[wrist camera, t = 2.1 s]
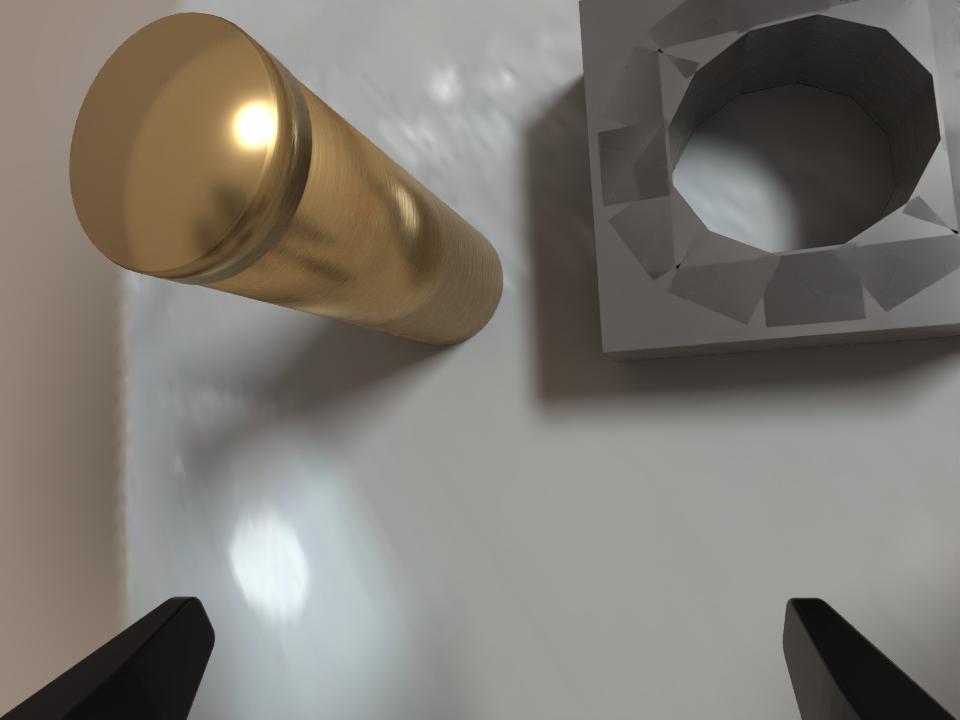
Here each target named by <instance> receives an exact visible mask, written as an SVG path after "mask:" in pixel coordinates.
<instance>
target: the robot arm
mask: <svg viewBox="0 0 960 720" xmlns="http://www.w3.org/2000/svg"><path fill="white" fill-rule="evenodd" d="M214 642H215V633H214V629H213V627H212V625H211V622H210V620H209V618H208V616H207V614H206V611H205V609H204V607H203V605H202V603H201V601H200V600H199V599H198V598H196V597H173V598H170V599H168V600H167V601H165V602H164V603H162V604H161V605H160V606H158V607H157V608H155V609H154V610H152V611H151V612H150V613H148V614H147V615H145V616H144V617H143V618H141V619H140V620H138V621H137V622H135V623H134V624H133V625H131V626H130V627H128V628H127V629H126V630H124V631H123V632H121V633H120V634H118V635H117V636H116V637H114V638H113V639H111V640H110V641H109V642H107V643H106V644H104V645H103V646H102V647H100V648H99V649H97V650H96V651H94V652H93V653H92V654H90V655H89V656H87V657H86V658H85V659H83V660H82V661H80V662H79V663H77V664H76V665H74V666H73V667H72V668H70V669H69V670H68V671H66V672H64V673H63V674H62V675H60V676H59V677H57V678H56V679H55V680H53V681H52V682H50V683H49V684H47V685H46V686H45V687H43V688H42V689H40V690H39V691H38V692H36V693H35V694H33V695H32V696H30V697H29V698H28V699H26V700H25V701H23V702H22V703H20V704H19V705H18V706H16V707H15V708H14V709H12V710H11V711H9V712H8V713H6V714H5V715H3V716H2V717H1V718H0V720H187V717H188V714H189V712H190V709H191V706H192V704H193V701H194V698H195V696H196V693H197V690H198V688H199V685H200V682H201V680H202V677H203V674H204V671H205V669H206V666H207V663H208V661H209V658H210V655H211V653H212V650H213V647H214ZM783 650H784V656H785V660H786V663H787V667H788V671H789V674H790V678H791V682H792V685H793V689H794V693H795V696H796V700H797V704H798V707H799V711H800V714H801V718H802V720H957V719H956V718H955V717H954V716H953V715H951V714H950V713H949V712H948V711H947V710H946V709H945V708H944V707H942V706H941V705H940V704H939V703H938V702H937V701H936V700H935V699H934V698H932V697H931V696H930V695H929V694H928V693H927V692H926V691H925V690H923V689H922V688H921V687H920V686H919V685H918V684H917V683H916V682H915V681H913V680H912V679H911V678H910V677H909V676H908V675H907V674H906V673H905V672H903V671H902V670H901V669H900V668H899V667H898V666H897V665H896V664H894V663H893V662H892V661H891V660H890V659H889V658H888V657H887V656H886V655H884V654H883V653H882V652H881V651H880V650H879V649H878V648H877V647H875V646H874V645H873V644H872V643H871V642H870V641H869V640H868V639H867V638H865V637H864V636H863V635H862V634H861V633H860V632H859V631H858V630H857V629H855V628H854V627H853V626H852V625H851V624H850V623H849V622H848V621H846V620H845V619H844V618H843V617H842V616H841V615H840V614H839V613H838V612H836V611H835V610H834V609H833V608H832V607H831V606H830V605H829V604H827V603H826V602H825V601H823V600H822V599H819V598H791V599H789V600H788V602H787V605H786V614H785V623H784V632H783Z"/></svg>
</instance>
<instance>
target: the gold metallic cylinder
mask: <svg viewBox="0 0 960 720" xmlns="http://www.w3.org/2000/svg"><path fill="white" fill-rule="evenodd" d="M70 186H71V194H72V198H73V203H74V207H75V210H76V213H77V216H78V219H79V221H80V223H81V225H82V227H83V229H84V231H85V233H86V234H87V236H88V237H89V239H90V240H91V241H92V243H93V244H94V245H95V246H96V247H97V248H98V250H99V251H100V252H102V253H103V254H104V255H105V256H106V257H107V258H109V259H110V260H111V261H112V262H114V263H115V264H117V265H119V266H121V267H123V268H125V269H128V270H131V271H134V272H137V273H141V274H145V275H149V276H153V277H157V278H161V279H165V280H170V281H174V282H178V283H182V284H189V285H200V286H204V287H207V288H211V289H215V290H219V291H223V292H227V293H231V294H235V295H239V296H243V297H247V298H251V299H255V300H259V301H263V302H267V303H271V304H274V305H278V306H282V307H286V308H290V309H294V310H298V311H302V312H306V313H310V314H314V315H318V316H322V317H326V318H330V319H334V320H338V321H341V322H345V323H349V324H353V325H357V326H361V327H365V328H369V329H373V330H377V331H381V332H385V333H389V334H393V335H397V336H401V337H404V338H408V339H412V340H416V341H420V342H424V343H428V344H433V345H451V344H455V343H459V342H462V341H464V340H466V339H468V338H470V337H472V336H473V335H475V334H476V333H477V332H479V331H480V330H481V329H482V328H483V327H484V326H485V325H486V324H487V323H488V321H489V320H490V319H491V317H492V316H493V314H494V312H495V311H496V308H497V306H498V304H499V301H500V298H501V294H502V288H503V272H502V266H501V262H500V259H499V257H498V254H497V252H496V250H495V249H494V247H493V246H492V244H491V243H490V242H489V241H488V240H487V239H486V238H485V236H483V235H482V234H481V233H480V232H479V231H477V230H476V229H475V228H474V227H473V226H471V225H470V224H469V223H468V222H467V221H465V220H464V219H463V218H462V217H461V216H459V215H458V214H457V213H456V212H455V211H454V210H452V209H451V208H450V207H449V206H448V205H446V204H445V203H444V202H443V201H442V200H440V199H439V198H438V197H437V196H436V195H434V194H433V193H432V192H431V191H430V190H428V189H427V188H426V187H425V186H424V185H423V184H421V183H420V182H419V181H418V180H417V179H415V178H414V177H413V176H412V175H411V174H409V173H408V172H407V171H406V170H405V169H403V168H402V167H401V166H400V165H399V164H397V163H396V162H395V161H394V160H393V159H392V158H390V157H389V156H388V155H387V154H386V153H384V152H383V151H382V150H381V149H380V148H378V147H377V146H376V145H375V144H374V143H372V142H371V141H370V140H369V139H368V138H366V137H365V136H364V135H363V134H362V133H360V132H359V131H358V130H357V129H356V128H355V127H353V126H352V125H351V124H350V123H349V122H347V121H346V120H345V119H344V118H343V117H341V116H340V115H339V114H338V113H337V112H335V111H334V110H333V109H332V108H331V107H329V106H328V105H327V104H326V103H325V102H324V101H322V100H321V99H320V98H319V97H318V96H316V95H315V94H314V93H313V92H312V91H310V90H309V89H308V88H307V87H306V86H304V85H303V84H302V83H301V82H300V81H298V80H297V79H296V78H295V77H294V76H293V75H292V74H291V72H290V71H289V70H288V69H287V68H286V67H285V66H284V65H283V64H282V63H281V62H280V61H279V60H278V59H276V58H275V57H274V56H273V55H272V54H270V53H269V52H268V51H267V50H266V49H265V48H263V47H262V46H261V45H260V44H259V43H257V42H256V41H255V40H254V39H253V38H252V37H250V36H249V35H248V34H247V33H246V32H244V31H243V30H242V29H240V28H239V27H238V26H236V25H235V24H234V23H232V22H230V21H228V20H226V19H224V18H221V17H217V16H214V15H210V14H204V13H193V12H191V13H179V14H175V15H171V16H167V17H164V18H162V19H159V20H157V21H154V22H153V23H150V24H149V25H147V26H145V27H143V28H142V29H140V30H139V31H137V32H136V33H135V34H133V35H132V36H131V37H129V38H128V39H127V40H126V41H125V42H124V43H123V44H122V45H121V46H120V47H119V48H118V49H117V50H116V51H115V52H114V53H113V54H112V55H111V57H110V58H109V59H108V60H107V62H106V63H105V65H104V66H103V67H102V69H101V70H100V71H99V73H98V75H97V76H96V78H95V80H94V81H93V83H92V85H91V86H90V88H89V91H88V93H87V95H86V97H85V99H84V102H83V104H82V107H81V109H80V112H79V115H78V118H77V121H76V125H75V129H74V133H73V139H72V144H71V153H70Z"/></svg>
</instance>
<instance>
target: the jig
mask: <svg viewBox="0 0 960 720" xmlns="http://www.w3.org/2000/svg"><path fill="white" fill-rule="evenodd" d="M579 12H580V26H581V41H582V56H583V70H584V85H585V100H586V114H587V129H588V144H589V159H590V173H591V188H592V203H593V217H594V232H595V247H596V261H597V276H598V291H599V305H600V320H601V335H602V349H603V353H605V354H606V355H608V356H609V357H611V358H612V359H614V360H615V361H617V362H620V361H633V360H646V359H660V358H673V357H686V356H699V355H712V354H726V353H739V352H752V351H765V350H779V349H792V348H805V347H818V346H831V345H845V344H858V343H871V342H884V341H897V340H911V339H924V338H937V337H950V336H960V0H581V1H579ZM794 82H798V83H802V84H806V85H810V86H814V87H817V88H821V89H825V90H829V91H833V92H836V93H840V94H844V95H848V96H852V97H853V98H854V99H855V101H856V102H857V103H858V104H859V105H860V106H861V107H862V108H863V109H864V110H865V111H866V112H867V113H868V114H869V115H870V116H871V117H872V118H873V119H874V120H875V122H876V123H877V124H878V125H879V126H880V127H881V128H882V129H883V130H884V131H885V132H886V133H887V134H888V135H889V140H890V148H891V156H892V164H893V173H894V181H895V191H894V193H893V195H892V197H891V199H890V201H889V203H888V204H887V206H886V208H885V210H884V212H883V214H882V216H881V218H880V220H879V222H877V223H876V224H874V225H873V226H871V227H870V228H868V229H866V230H865V231H863V232H862V233H860V234H859V235H857V236H856V237H854V238H853V239H851V240H850V241H848V242H847V243H845V244H841V245H833V246H825V247H817V248H809V249H801V250H793V251H785V252H777V253H769V252H766V251H763V250H761V249H758V248H755V247H752V246H750V245H747V244H744V243H741V242H739V241H736V240H733V239H730V238H728V237H725V236H722V235H720V234H717V233H714V232H711V231H709V230H708V229H707V227H706V226H705V225H704V224H703V222H702V221H701V220H700V219H699V217H698V216H697V215H696V214H695V212H694V211H693V210H692V208H691V207H690V206H689V205H688V203H687V202H686V201H685V200H684V198H683V197H682V196H681V195H680V193H679V192H678V191H677V190H676V188H675V187H674V186H673V181H672V173H673V171H674V168H675V166H676V164H677V162H678V160H679V158H680V156H681V154H682V152H683V150H684V148H685V146H686V144H687V142H688V140H689V138H690V136H691V134H692V132H693V130H694V128H695V127H696V126H697V125H699V124H700V123H701V122H703V121H704V120H705V119H707V118H708V117H709V116H711V115H712V114H713V113H715V112H716V111H717V110H719V109H720V108H721V107H723V106H724V105H725V104H727V103H728V102H729V101H731V100H732V99H733V98H735V97H736V96H737V95H739V94H742V93H747V92H751V91H756V90H761V89H766V88H770V87H775V86H780V85H784V84H789V83H794Z"/></svg>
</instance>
